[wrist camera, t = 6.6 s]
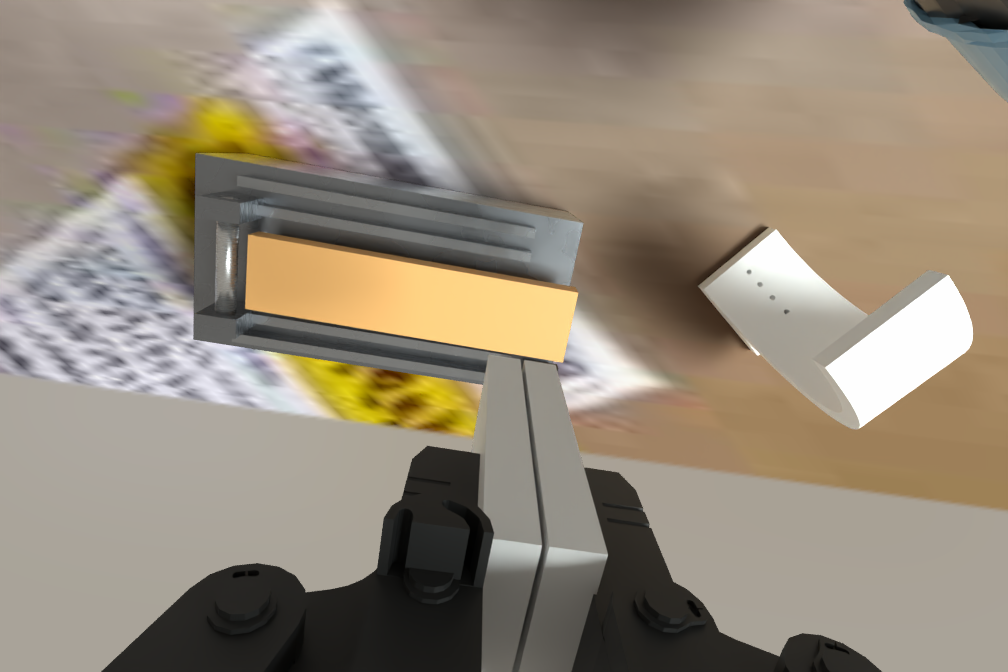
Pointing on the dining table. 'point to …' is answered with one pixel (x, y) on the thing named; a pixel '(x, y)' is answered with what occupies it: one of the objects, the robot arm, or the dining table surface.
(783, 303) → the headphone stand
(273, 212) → the block
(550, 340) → the tan flat bar
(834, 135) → the dining table surface
